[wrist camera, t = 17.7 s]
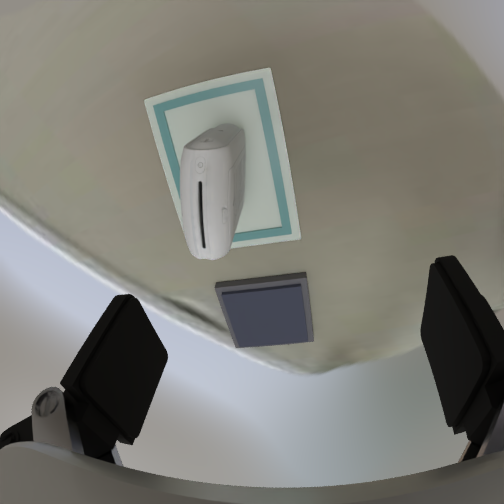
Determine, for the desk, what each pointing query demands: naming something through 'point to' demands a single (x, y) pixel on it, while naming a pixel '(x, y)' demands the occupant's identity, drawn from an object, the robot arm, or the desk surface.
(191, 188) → the photo printer
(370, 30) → the desk surface
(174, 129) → the teal bordered white mat
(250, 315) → the ink pad
